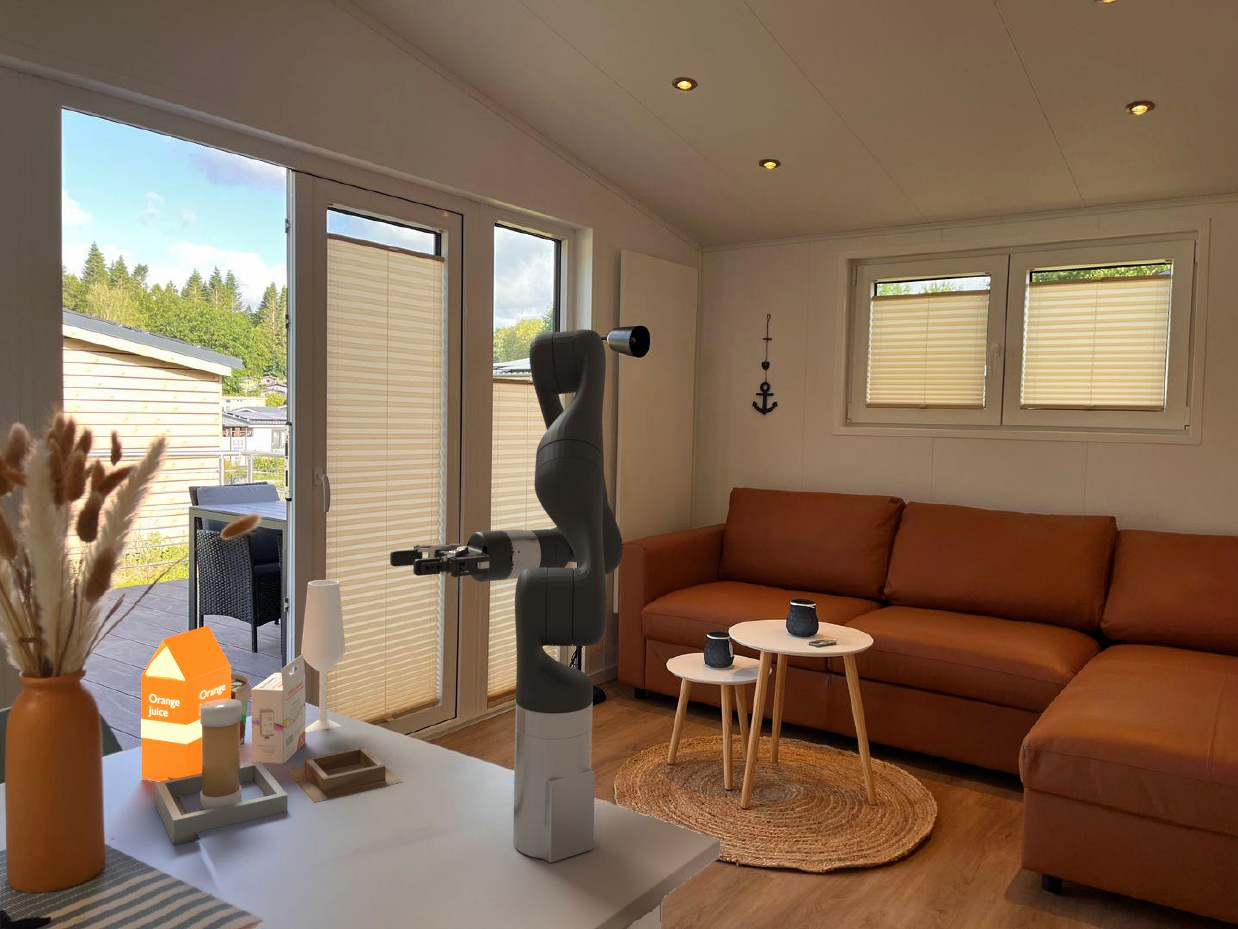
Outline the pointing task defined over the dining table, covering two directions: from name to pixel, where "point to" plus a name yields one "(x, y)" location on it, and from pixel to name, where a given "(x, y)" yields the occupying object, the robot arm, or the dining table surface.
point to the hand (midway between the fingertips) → (402, 563)
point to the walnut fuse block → (342, 774)
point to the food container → (241, 698)
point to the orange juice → (180, 702)
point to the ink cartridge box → (279, 714)
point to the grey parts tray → (188, 825)
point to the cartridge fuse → (220, 753)
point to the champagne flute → (323, 639)
